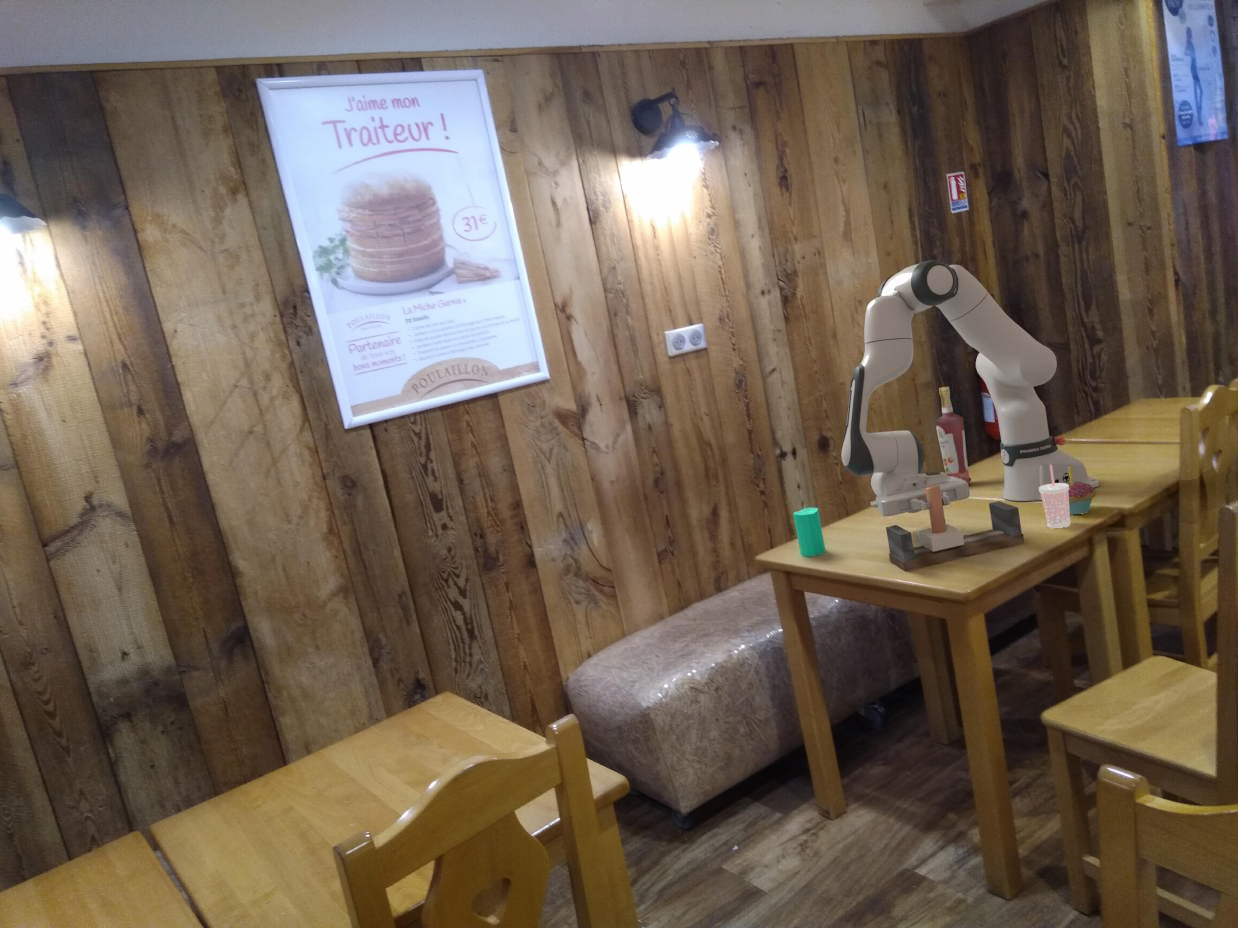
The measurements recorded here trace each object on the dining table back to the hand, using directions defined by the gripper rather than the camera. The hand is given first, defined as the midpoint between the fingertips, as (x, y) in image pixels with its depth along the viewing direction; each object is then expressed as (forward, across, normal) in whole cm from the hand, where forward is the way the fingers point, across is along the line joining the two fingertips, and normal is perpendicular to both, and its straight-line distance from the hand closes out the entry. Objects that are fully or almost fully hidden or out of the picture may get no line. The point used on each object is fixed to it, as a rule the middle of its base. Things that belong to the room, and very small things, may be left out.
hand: (936, 503), depth 194 cm
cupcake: (-9, +36, +12) cm, 39 cm away
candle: (-25, -22, +12) cm, 35 cm away
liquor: (-55, +30, +12) cm, 64 cm away
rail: (-1, +3, +12) cm, 12 cm away
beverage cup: (-3, +28, +12) cm, 31 cm away
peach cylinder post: (-1, 0, +9) cm, 9 cm away
